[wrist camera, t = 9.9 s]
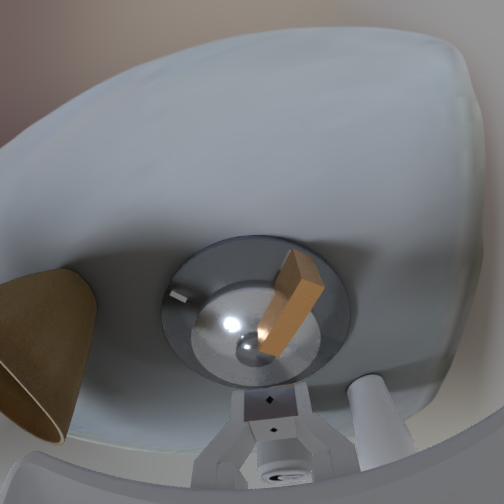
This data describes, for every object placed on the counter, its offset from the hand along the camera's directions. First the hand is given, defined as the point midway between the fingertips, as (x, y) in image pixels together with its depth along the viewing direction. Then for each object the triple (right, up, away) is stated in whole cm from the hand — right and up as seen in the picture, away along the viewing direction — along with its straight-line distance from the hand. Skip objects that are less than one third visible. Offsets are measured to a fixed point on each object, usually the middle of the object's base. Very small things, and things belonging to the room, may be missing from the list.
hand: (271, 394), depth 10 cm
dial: (0, -1, +16) cm, 16 cm away
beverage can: (+3, -14, +23) cm, 28 cm away
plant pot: (-22, +1, +17) cm, 28 cm away
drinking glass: (+15, -12, +22) cm, 29 cm away
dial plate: (0, -1, +18) cm, 18 cm away
